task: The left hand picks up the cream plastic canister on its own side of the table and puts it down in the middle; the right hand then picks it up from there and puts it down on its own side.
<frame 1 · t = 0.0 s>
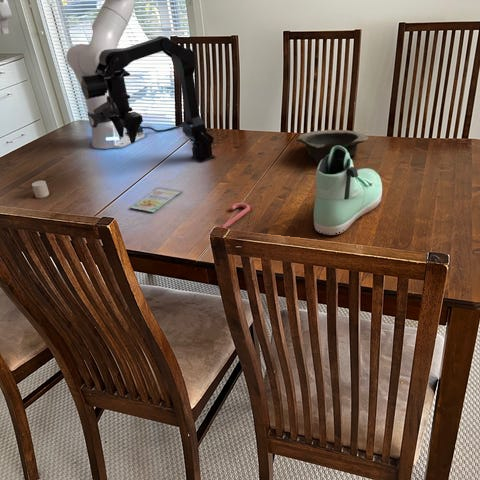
left hand: (0, 32, 160), 48 cm above the table, tool pointing down, fingers open, 8 cm apart
right hand: (126, 139, 160), 15 cm above the table, tool pointing down, fingers open, 9 cm apart
candy cane: (233, 218, 139), on the table
canister: (42, 195, 162), on the table
stone bowl: (331, 155, 174), on the table
baking ingredient package: (156, 200, 152), on the table
sneaker: (348, 208, 139), on the table
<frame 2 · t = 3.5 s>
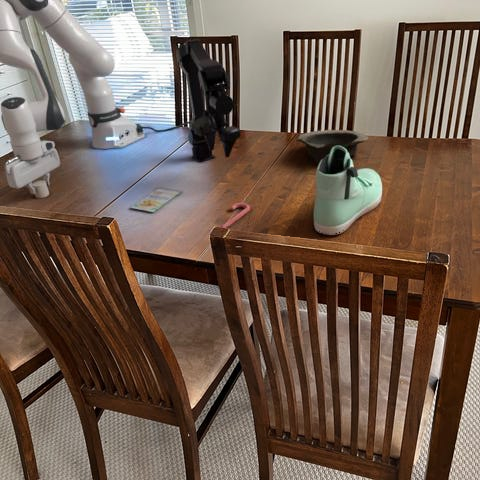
left hand: (40, 189, 161), 2 cm above the table, tool pointing down, fingers closed on canister, 4 cm apart
right hand: (219, 153, 159), 9 cm above the table, tool pointing down, fingers open, 9 cm apart
canister: (42, 195, 162), on the table, touching left hand
everything else where it was.
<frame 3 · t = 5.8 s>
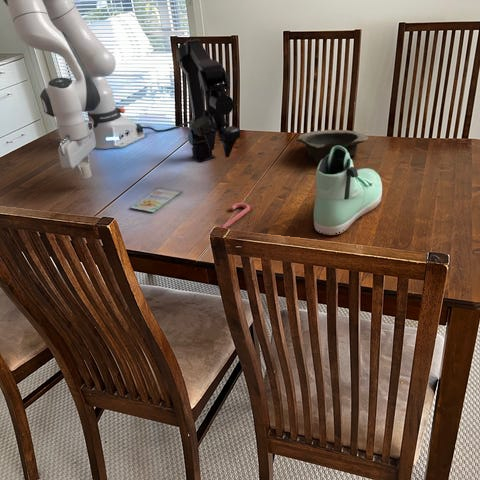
left hand: (83, 170, 162), 6 cm above the table, tool pointing down, fingers closed on canister, 4 cm apart
right hand: (219, 153, 159), 9 cm above the table, tool pointing down, fingers open, 9 cm apart
canister: (85, 176, 163), point 4 cm above the table, touching left hand
everything else where it was.
when the left hand's fingers open (3 cm above the table, at t = 8.0 s): canister drops 1 cm, on the table.
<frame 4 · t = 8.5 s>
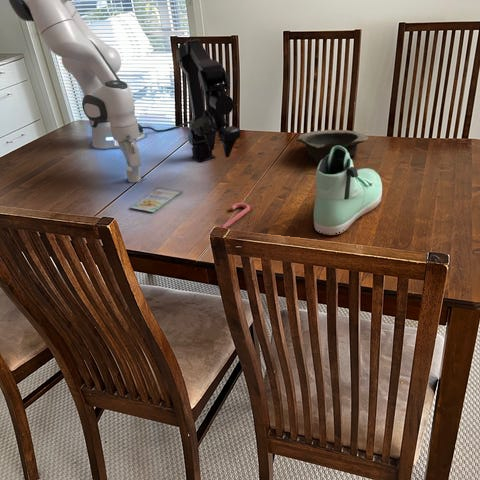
left hand: (133, 170, 166), 4 cm above the table, tool pointing down, fingers open, 8 cm apart
right hand: (219, 153, 159), 9 cm above the table, tool pointing down, fingers open, 9 cm apart
canister: (134, 179, 168), on the table
everything else where it was.
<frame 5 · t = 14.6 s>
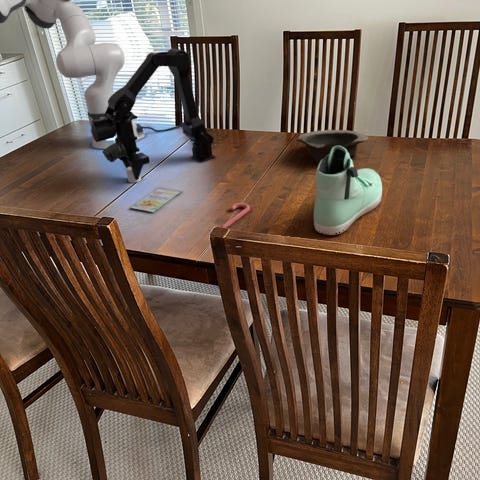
right hand: (134, 177, 167), 1 cm above the table, tool pointing down, fingers closed on canister, 4 cm apart
canister: (134, 180, 168), on the table, touching right hand
everything else where it was.
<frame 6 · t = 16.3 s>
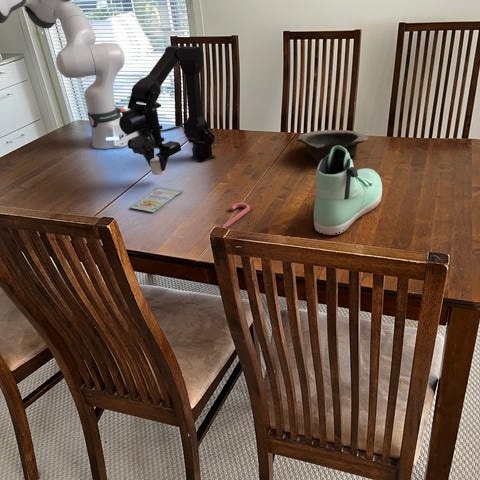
right hand: (158, 169, 161), 5 cm above the table, tool pointing down, fingers closed on canister, 4 cm apart
canister: (158, 172, 162), point 4 cm above the table, touching right hand
everything else where it was.
when the right hand's fingers open (2 cm above the table, at t = 18.6 s): canister drops 1 cm, on the table.
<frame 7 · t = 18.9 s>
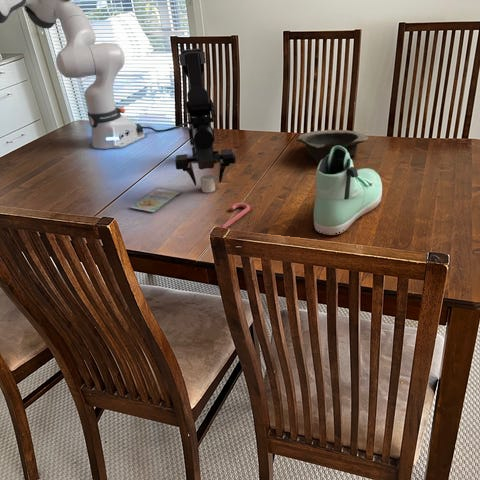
right hand: (207, 183, 156), 2 cm above the table, tool pointing down, fingers open, 8 cm apart
canister: (208, 189, 157), on the table
everything else where it was.
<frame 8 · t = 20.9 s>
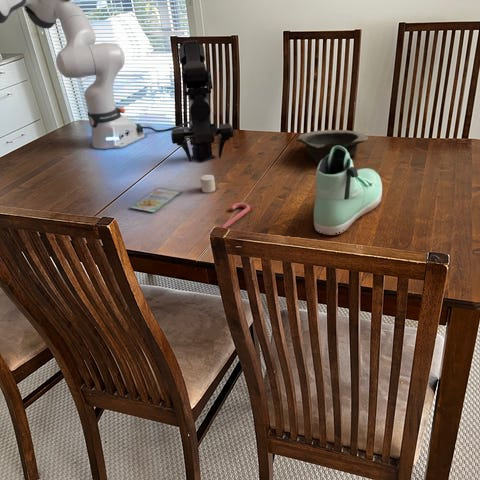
right hand: (205, 159, 151), 10 cm above the table, tool pointing down, fingers open, 9 cm apart
nothing on the table moved.
at the end: canister inside the target area (0.0 cm from its centre), on the table; canister tilted 0°; the two hands never held the canister at the same time; the left hand is holding nothing; the right hand is holding nothing; canister at rest at the end (0.0 cm/s) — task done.
